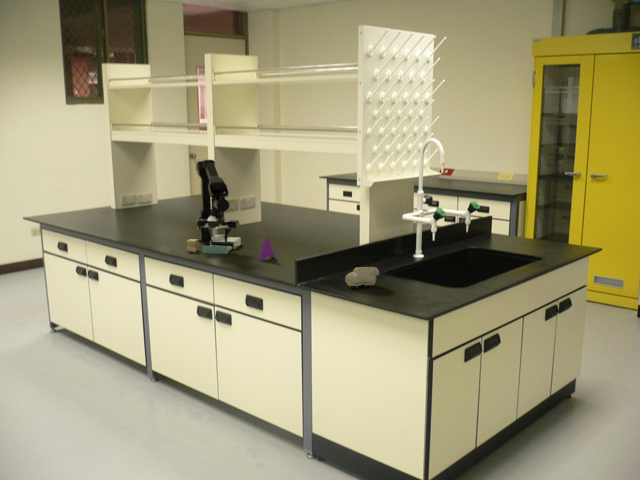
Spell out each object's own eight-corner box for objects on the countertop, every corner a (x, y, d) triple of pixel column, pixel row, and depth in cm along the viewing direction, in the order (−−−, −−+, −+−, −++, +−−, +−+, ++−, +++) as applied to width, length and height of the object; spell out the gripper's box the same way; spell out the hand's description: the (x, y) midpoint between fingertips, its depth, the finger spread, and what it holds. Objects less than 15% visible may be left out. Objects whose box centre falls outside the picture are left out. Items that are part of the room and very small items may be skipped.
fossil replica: (340, 286, 225) (357, 294, 217) (340, 265, 222) (357, 273, 215) (365, 278, 232) (382, 286, 224) (365, 258, 229) (383, 265, 221)
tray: (210, 248, 286) (210, 241, 285) (233, 249, 284) (233, 242, 283) (202, 252, 276) (202, 246, 276) (227, 254, 274) (227, 247, 274)
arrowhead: (265, 268, 266) (276, 250, 270) (268, 269, 265) (279, 251, 269) (254, 256, 259) (265, 237, 263) (256, 256, 258) (268, 237, 262)
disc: (209, 240, 277) (209, 237, 277) (214, 237, 283) (214, 234, 283) (223, 241, 276) (223, 237, 276) (227, 238, 282) (227, 234, 282)
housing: (217, 243, 296) (216, 236, 295) (240, 244, 294) (240, 237, 293) (210, 248, 286) (210, 240, 286) (234, 249, 284) (234, 241, 284)
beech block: (190, 249, 283) (189, 239, 282) (198, 249, 282) (198, 239, 281) (187, 251, 279) (186, 240, 278) (195, 251, 278) (194, 241, 277)
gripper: (191, 210, 270) (193, 244, 274) (232, 211, 267) (232, 246, 271) (200, 206, 281) (201, 239, 284) (239, 208, 278) (240, 241, 281)
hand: (218, 241), depth 280 cm, fingers closed on disc, 6 cm apart
